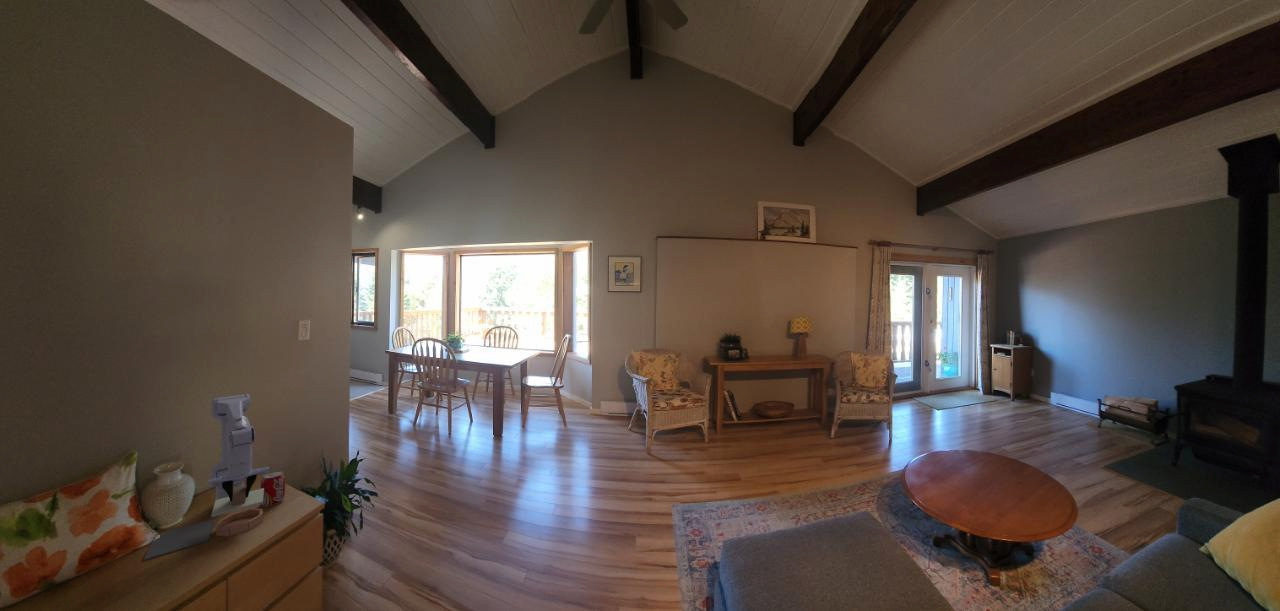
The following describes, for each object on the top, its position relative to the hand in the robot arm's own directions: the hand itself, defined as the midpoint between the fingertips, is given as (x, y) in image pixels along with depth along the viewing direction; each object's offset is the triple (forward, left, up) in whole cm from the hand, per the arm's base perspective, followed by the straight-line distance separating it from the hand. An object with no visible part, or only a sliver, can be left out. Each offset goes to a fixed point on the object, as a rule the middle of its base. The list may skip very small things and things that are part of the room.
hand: (239, 498), depth 127 cm
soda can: (-12, +8, -11) cm, 18 cm away
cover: (0, 0, -2) cm, 2 cm away
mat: (-3, -13, -10) cm, 17 cm away
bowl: (0, 0, -10) cm, 10 cm away
